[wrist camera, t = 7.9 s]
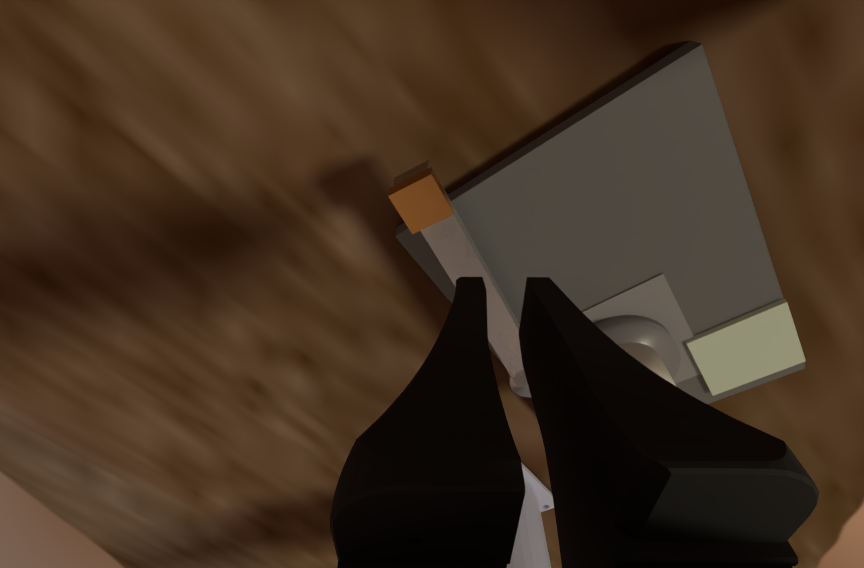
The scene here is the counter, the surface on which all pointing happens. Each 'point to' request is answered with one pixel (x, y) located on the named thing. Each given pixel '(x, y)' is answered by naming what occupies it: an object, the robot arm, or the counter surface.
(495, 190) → the board
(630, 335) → the beige mushroom
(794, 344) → the pad
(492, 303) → the rod with orange cap
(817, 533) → the counter surface
